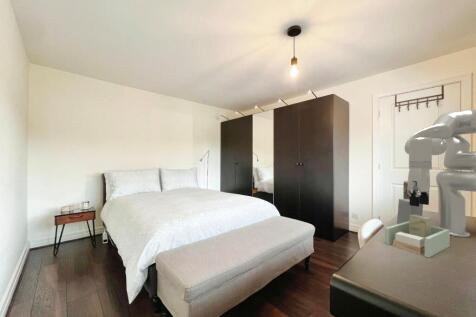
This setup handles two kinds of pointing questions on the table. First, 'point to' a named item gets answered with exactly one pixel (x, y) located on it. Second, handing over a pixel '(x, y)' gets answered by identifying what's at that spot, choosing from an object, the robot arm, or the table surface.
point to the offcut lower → (409, 247)
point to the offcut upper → (409, 239)
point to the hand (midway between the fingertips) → (419, 205)
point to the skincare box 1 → (407, 210)
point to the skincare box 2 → (420, 226)
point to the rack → (432, 243)
